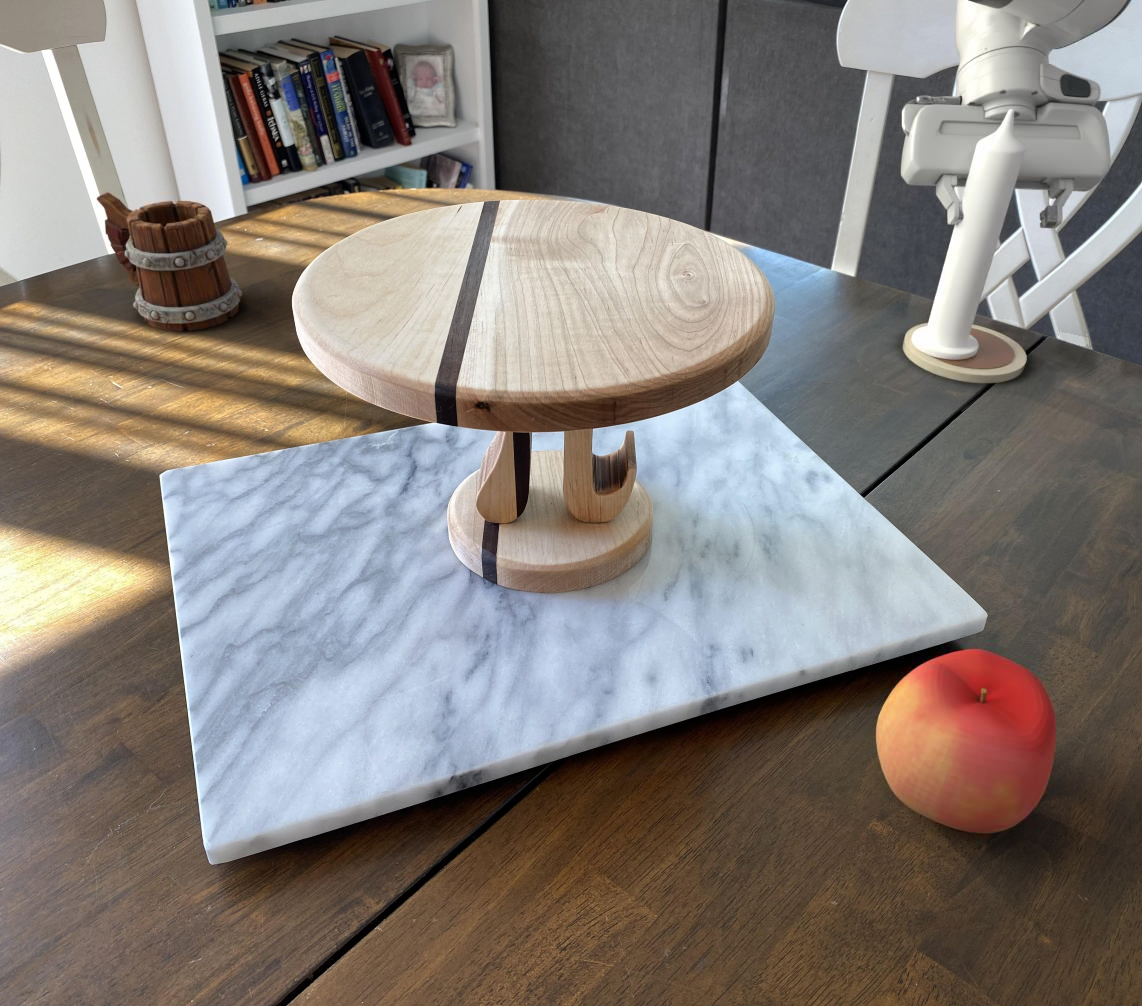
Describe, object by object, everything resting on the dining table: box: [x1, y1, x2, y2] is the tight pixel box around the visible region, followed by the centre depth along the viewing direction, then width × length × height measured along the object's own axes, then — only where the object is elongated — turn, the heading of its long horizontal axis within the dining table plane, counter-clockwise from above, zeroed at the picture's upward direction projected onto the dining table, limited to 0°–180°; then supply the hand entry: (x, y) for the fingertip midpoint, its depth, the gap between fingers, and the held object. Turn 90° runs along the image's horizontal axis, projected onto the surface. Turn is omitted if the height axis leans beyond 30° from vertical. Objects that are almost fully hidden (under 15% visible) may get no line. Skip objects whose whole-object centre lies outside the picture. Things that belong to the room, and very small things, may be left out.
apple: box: [875, 648, 1057, 834], centre depth 54 cm, size 10×10×10 cm
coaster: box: [902, 322, 1028, 384], centre depth 105 cm, size 13×13×1 cm
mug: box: [96, 191, 243, 332], centre depth 106 cm, size 12×14×15 cm
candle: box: [912, 109, 1026, 360], centre depth 97 cm, size 7×7×25 cm
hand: (1004, 224), depth 95 cm, fingers open, 8 cm apart
